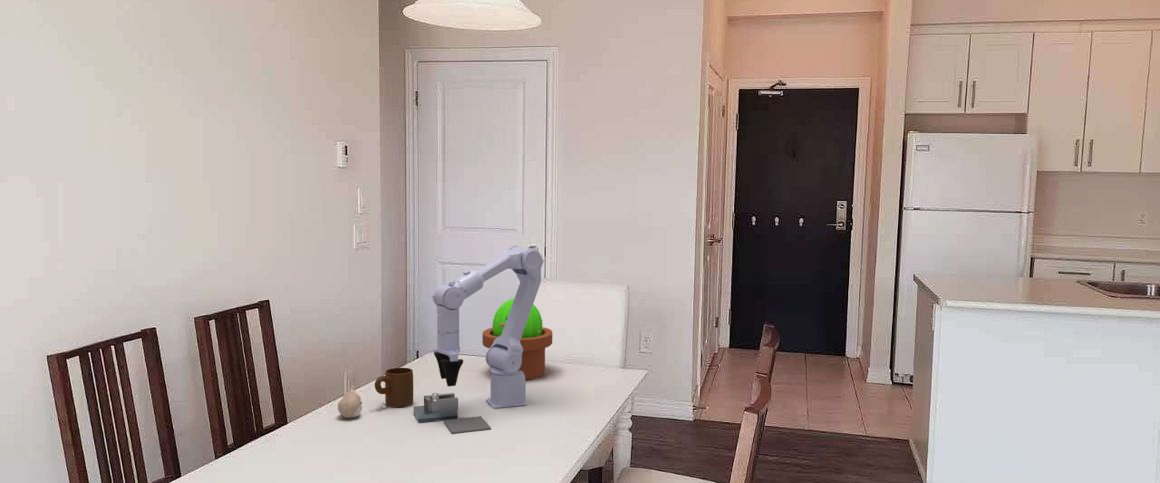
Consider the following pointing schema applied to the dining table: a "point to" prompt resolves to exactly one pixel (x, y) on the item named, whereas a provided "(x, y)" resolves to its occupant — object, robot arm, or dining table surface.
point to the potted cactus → (523, 339)
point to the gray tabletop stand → (441, 403)
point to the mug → (396, 387)
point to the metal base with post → (433, 413)
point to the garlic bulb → (350, 404)
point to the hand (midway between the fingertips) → (448, 382)
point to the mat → (466, 425)
